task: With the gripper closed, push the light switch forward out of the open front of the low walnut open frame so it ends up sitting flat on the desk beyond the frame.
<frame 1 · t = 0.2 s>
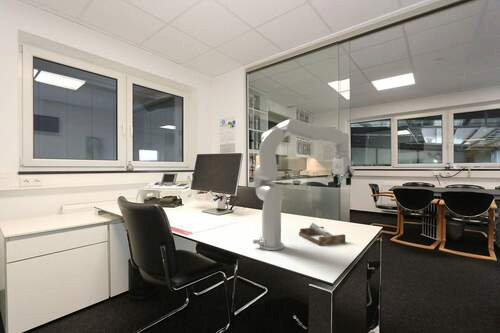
hand: (341, 184, 131), 31 cm above the table, tool pointing down, fingers open, 9 cm apart
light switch: (322, 239, 130), resting in walnut open frame
walnut open frame: (321, 238, 130), on the table
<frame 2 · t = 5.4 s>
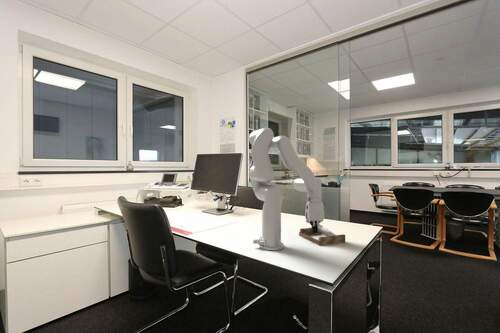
hand: (314, 232, 128), 4 cm above the table, tool pointing down, fingers closed
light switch: (324, 238, 131), resting in walnut open frame, touching gripper
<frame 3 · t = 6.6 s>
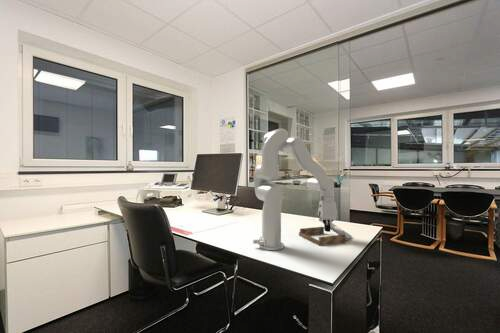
hand: (327, 231, 131), 4 cm above the table, tool pointing down, fingers closed
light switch: (337, 237, 133), on the table, touching gripper
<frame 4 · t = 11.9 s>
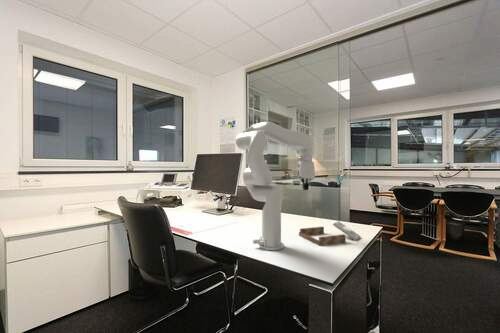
hand: (305, 189, 137), 27 cm above the table, tool pointing down, fingers closed
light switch: (346, 237, 133), on the table
at the end: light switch inside the target area on the table beside the walnut open frame (4.1 cm from its centre), on the table; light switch tilted 0° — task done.
